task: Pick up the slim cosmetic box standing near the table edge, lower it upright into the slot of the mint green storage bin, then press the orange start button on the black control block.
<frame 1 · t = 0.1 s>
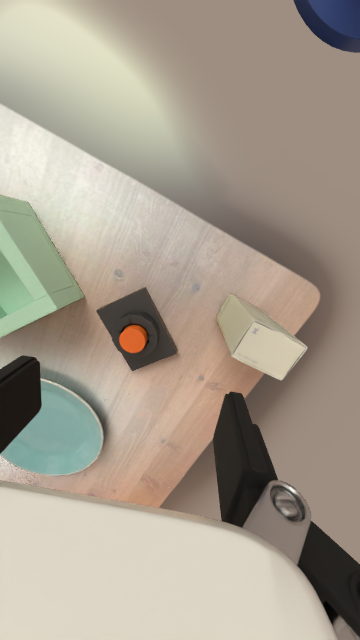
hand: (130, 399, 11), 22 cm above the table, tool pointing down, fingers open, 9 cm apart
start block: (139, 329, 34), on the table
plate: (50, 419, 41), on the table
start button: (133, 338, 31), point 3 cm above the table, slide at 0.1 cm
mint green storage bin: (19, 273, 32), on the table
cosmetic box: (240, 314, 33), on the table
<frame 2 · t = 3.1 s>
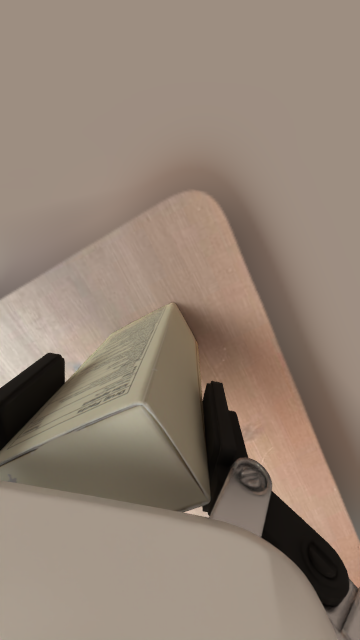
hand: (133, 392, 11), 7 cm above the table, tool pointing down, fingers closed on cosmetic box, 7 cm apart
cosmetic box: (155, 336, 18), on the table, touching gripper
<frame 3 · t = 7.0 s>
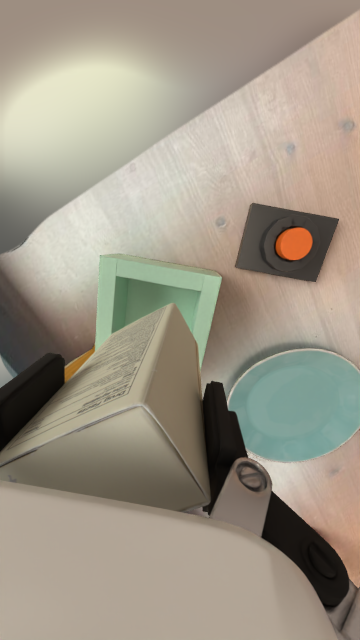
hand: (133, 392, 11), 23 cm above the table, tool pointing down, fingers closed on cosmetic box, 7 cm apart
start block: (282, 244, 30), on the table
plate: (288, 399, 38), on the table
start button: (293, 244, 26), point 3 cm above the table, slide at 0.1 cm
mint green storage bin: (160, 308, 34), on the table
cosmetic box: (155, 336, 18), point 15 cm above the table, touching gripper
pancake mix bag: (121, 379, 38), on the table
when the fingers open (8 cm above the table, at t = 11.4 s): cosmetic box stays where it is, resting on mint green storage bin.
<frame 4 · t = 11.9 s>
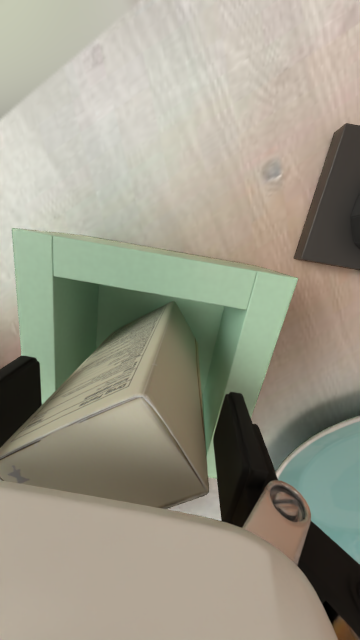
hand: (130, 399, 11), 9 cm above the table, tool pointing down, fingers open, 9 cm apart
mint green storage bin: (157, 332, 19), on the table
cosmetic box: (155, 334, 19), point 1 cm above the table, touching mint green storage bin
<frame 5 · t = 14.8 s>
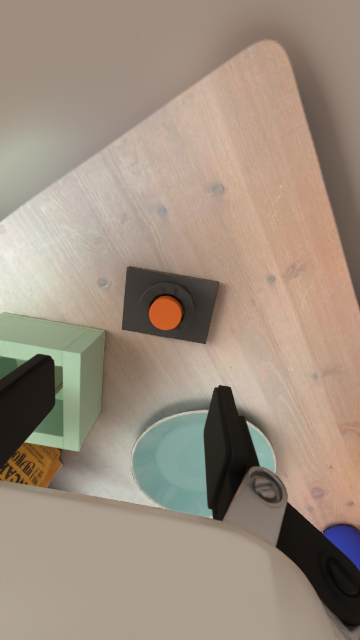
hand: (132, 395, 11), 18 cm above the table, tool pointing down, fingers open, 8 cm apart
mug: (346, 536, 41), on the table
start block: (169, 304, 28), on the table
plate: (201, 453, 36), on the table
start button: (166, 312, 25), point 3 cm above the table, slide at 0.1 cm
mint green storage bin: (55, 365, 32), on the table
pancake mix bag: (28, 432, 37), on the table
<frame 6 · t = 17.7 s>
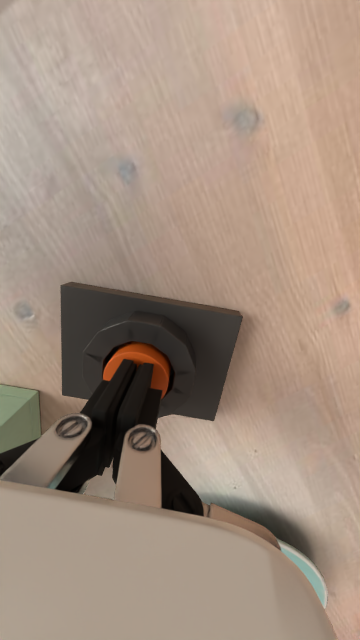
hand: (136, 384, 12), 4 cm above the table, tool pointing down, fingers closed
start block: (147, 351, 15), on the table
plate: (205, 562, 24), on the table
start button: (138, 372, 13), point 3 cm above the table, slide at -0.6 cm, touching gripper
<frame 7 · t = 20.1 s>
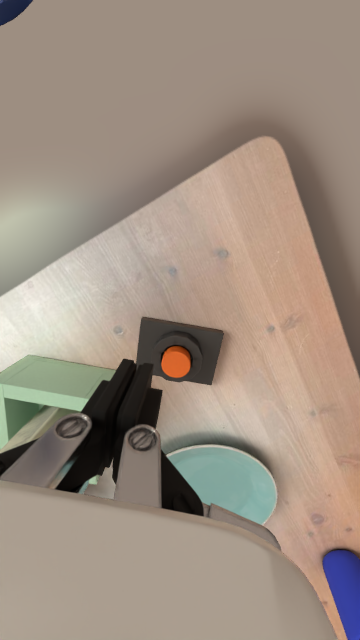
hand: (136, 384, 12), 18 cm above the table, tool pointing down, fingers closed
mug: (346, 560, 42), on the table
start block: (178, 349, 31), on the table
plate: (207, 480, 39), on the table
start button: (176, 361, 28), point 3 cm above the table, slide at 0.1 cm
mint green storage bin: (73, 401, 35), on the table
cosmetic box: (70, 404, 34), point 1 cm above the table, touching mint green storage bin
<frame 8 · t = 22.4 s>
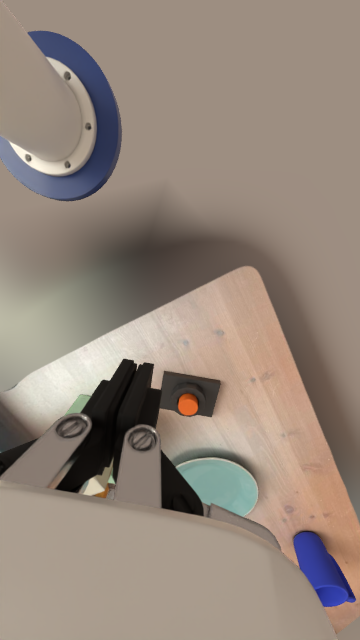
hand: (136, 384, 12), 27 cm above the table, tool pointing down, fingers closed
mug: (311, 539, 57), on the table
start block: (188, 392, 44), on the table
plate: (208, 482, 52), on the table
start button: (188, 404, 41), point 3 cm above the table, slide at 0.1 cm
cosmetic box: (109, 428, 47), point 1 cm above the table, touching mint green storage bin
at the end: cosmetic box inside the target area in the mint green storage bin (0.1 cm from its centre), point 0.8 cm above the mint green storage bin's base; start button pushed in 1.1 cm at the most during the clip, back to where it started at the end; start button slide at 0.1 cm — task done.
